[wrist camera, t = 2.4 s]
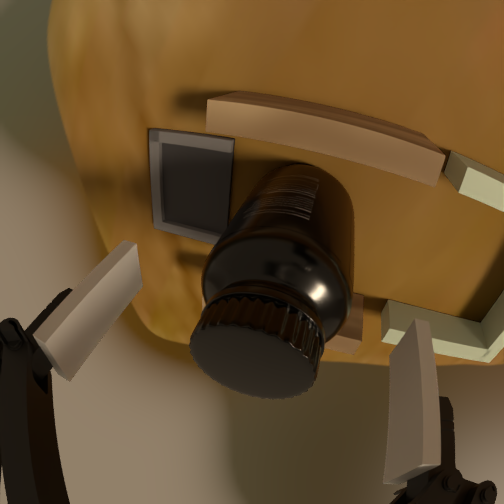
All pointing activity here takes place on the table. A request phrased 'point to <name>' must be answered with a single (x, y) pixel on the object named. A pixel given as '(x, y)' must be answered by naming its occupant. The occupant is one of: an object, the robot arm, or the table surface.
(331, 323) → the supplement bottle
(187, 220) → the mat
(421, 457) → the robot arm
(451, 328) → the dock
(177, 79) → the table surface
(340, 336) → the channel
